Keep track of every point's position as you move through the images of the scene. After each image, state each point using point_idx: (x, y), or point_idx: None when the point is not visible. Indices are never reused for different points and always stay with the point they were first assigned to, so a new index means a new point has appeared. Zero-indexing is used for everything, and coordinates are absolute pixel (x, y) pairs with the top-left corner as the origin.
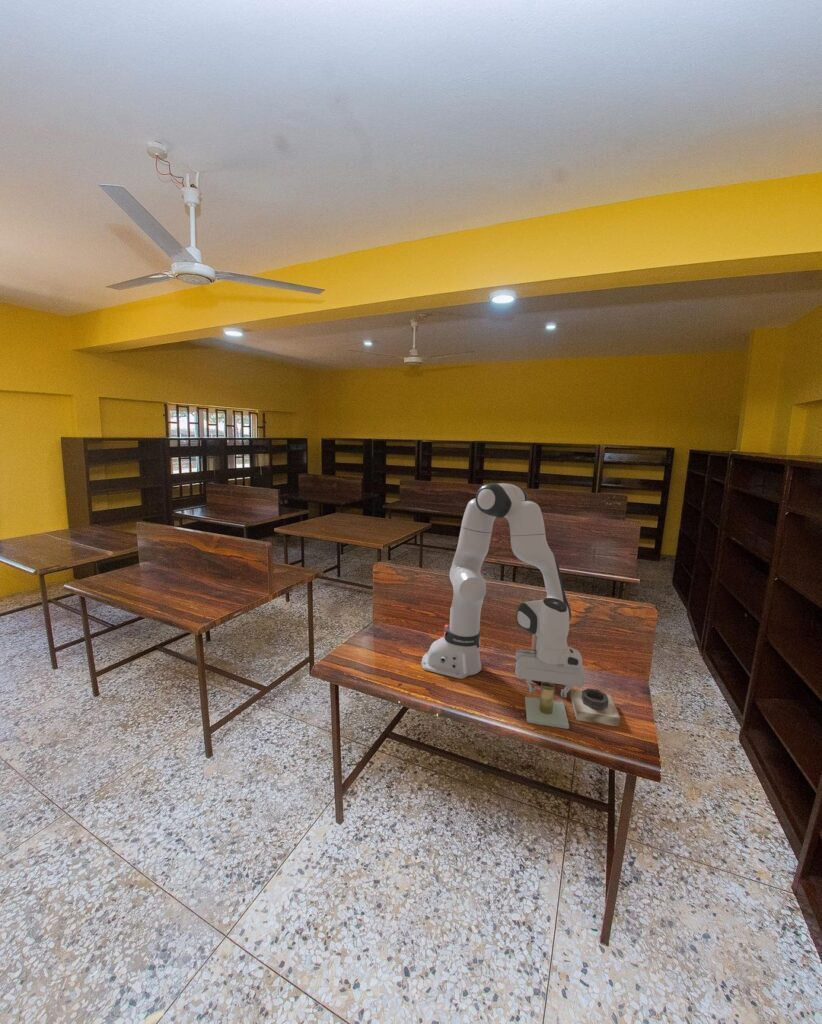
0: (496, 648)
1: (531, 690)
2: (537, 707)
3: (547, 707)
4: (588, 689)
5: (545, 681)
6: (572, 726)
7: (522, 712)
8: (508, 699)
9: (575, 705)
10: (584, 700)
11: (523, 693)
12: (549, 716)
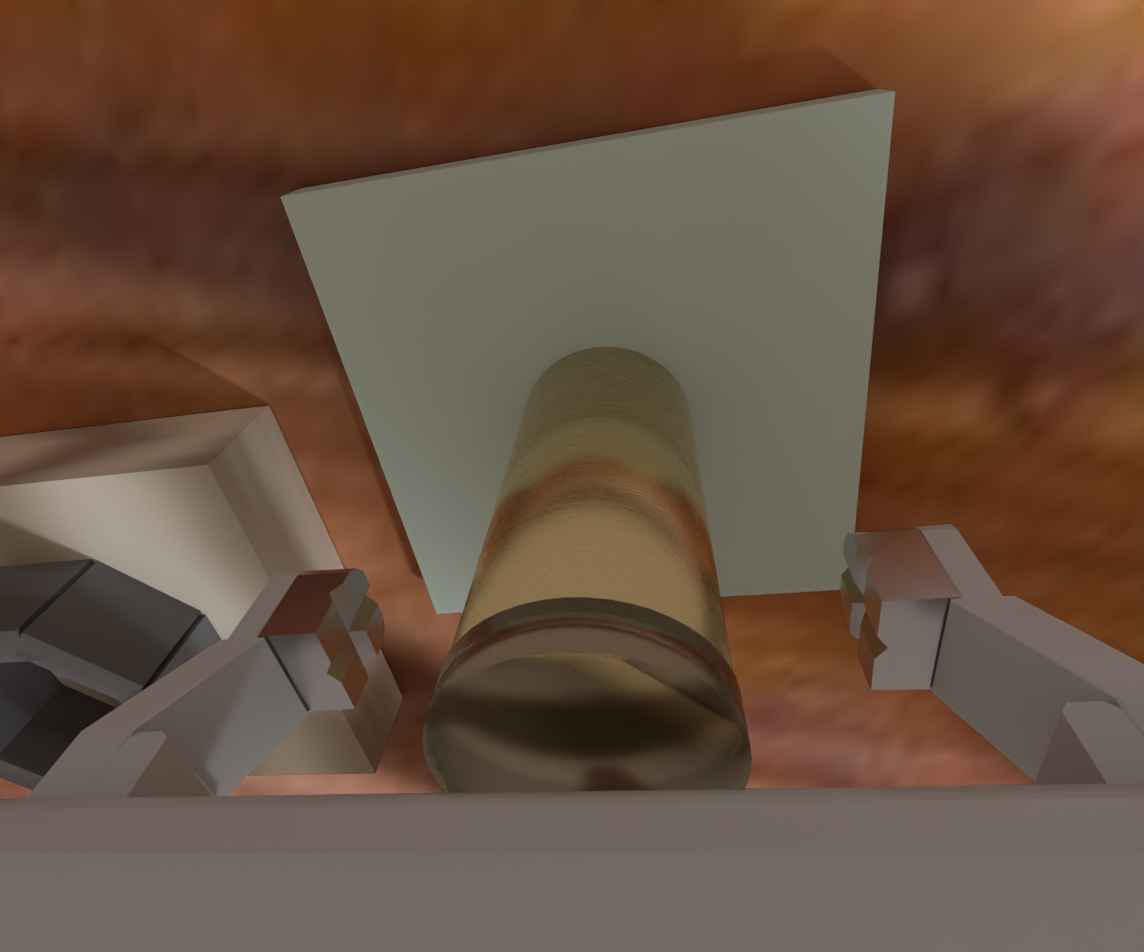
0: None
1: (926, 554)
2: (711, 444)
3: (584, 392)
4: None
5: (660, 809)
6: (279, 268)
7: (908, 317)
8: (1050, 510)
9: (280, 571)
10: (165, 643)
11: (842, 645)
12: (554, 312)
